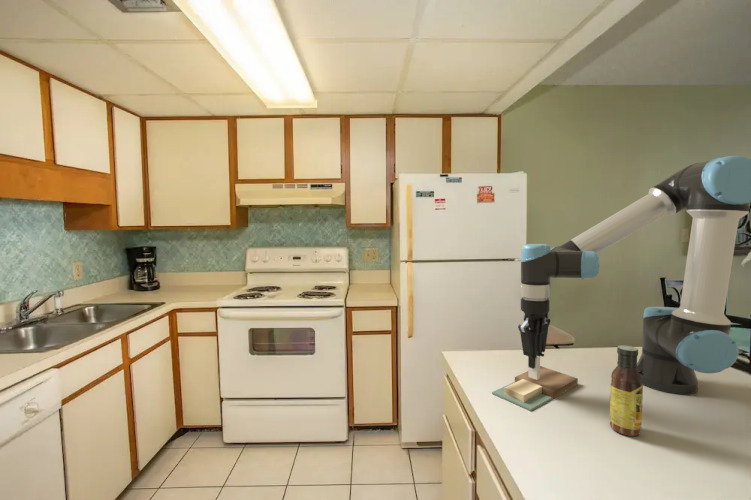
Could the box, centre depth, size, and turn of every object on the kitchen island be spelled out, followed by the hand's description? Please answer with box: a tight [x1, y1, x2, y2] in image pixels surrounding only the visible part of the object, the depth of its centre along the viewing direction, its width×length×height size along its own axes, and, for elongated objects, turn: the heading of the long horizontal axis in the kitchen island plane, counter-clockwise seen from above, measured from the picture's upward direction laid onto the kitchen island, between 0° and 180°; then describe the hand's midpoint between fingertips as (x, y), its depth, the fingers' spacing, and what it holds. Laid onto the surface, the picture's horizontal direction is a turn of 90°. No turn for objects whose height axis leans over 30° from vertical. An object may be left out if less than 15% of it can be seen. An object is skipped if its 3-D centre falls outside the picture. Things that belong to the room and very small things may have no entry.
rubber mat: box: [491, 381, 553, 412], centre depth 103 cm, size 12×10×1 cm
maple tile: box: [505, 379, 542, 403], centre depth 103 cm, size 6×9×2 cm, turn 125°
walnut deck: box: [514, 365, 579, 400], centre depth 110 cm, size 12×14×2 cm
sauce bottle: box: [609, 345, 644, 437], centre depth 85 cm, size 7×6×20 cm
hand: (534, 377), depth 106 cm, fingers closed
